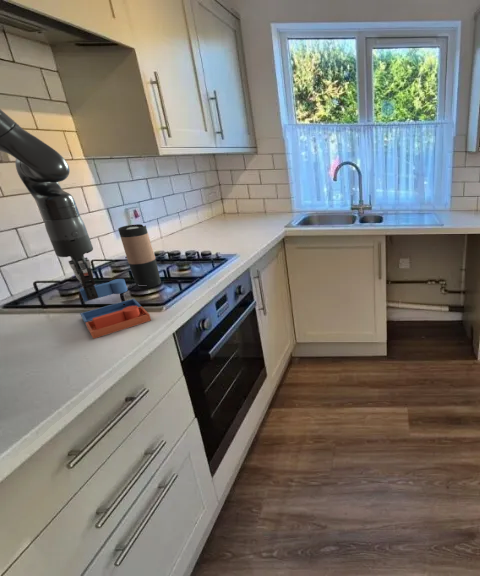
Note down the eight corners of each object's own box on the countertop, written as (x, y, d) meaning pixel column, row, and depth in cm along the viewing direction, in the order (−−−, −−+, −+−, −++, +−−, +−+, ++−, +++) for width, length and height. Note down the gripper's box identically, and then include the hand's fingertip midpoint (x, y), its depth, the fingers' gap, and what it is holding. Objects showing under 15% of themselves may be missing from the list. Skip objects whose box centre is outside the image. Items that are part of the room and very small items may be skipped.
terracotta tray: (93, 338, 90) (90, 332, 89) (87, 328, 95) (85, 322, 94) (151, 320, 99) (149, 314, 98) (143, 312, 104) (141, 306, 103)
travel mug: (132, 290, 119) (113, 230, 111) (141, 281, 126) (124, 225, 118) (157, 287, 120) (140, 228, 113) (165, 279, 127) (149, 223, 119)
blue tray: (87, 328, 95) (84, 321, 95) (82, 319, 100) (79, 313, 99) (143, 311, 104) (141, 305, 103) (135, 304, 109) (134, 298, 108)
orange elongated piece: (98, 332, 92) (94, 321, 91) (95, 327, 95) (91, 317, 93) (142, 318, 99) (139, 308, 98) (139, 314, 101) (135, 304, 100)
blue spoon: (85, 302, 95) (81, 291, 94) (82, 299, 98) (78, 288, 96) (129, 291, 102) (125, 280, 100) (125, 287, 104) (122, 277, 103)
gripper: (46, 233, 93) (71, 295, 100) (52, 243, 84) (79, 309, 91) (82, 228, 98) (104, 287, 104) (92, 236, 89) (115, 300, 96)
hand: (92, 297), depth 98 cm, fingers closed on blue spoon, 1 cm apart
